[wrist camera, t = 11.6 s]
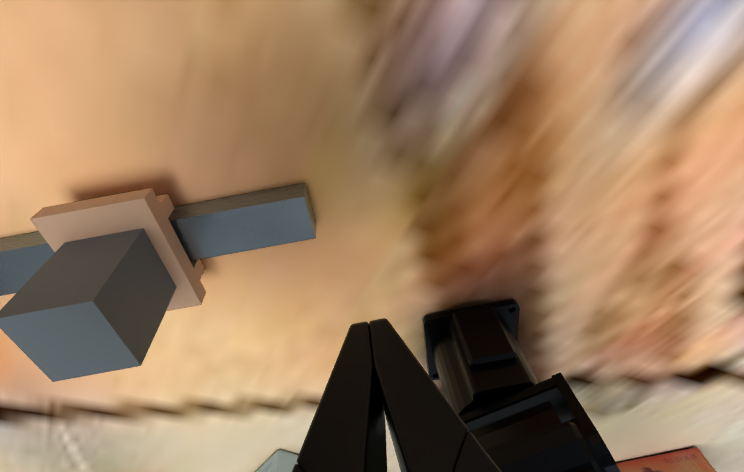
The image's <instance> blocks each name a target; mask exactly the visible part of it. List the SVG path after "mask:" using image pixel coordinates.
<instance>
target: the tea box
mask: <svg viewBox="0 0 744 472" xmlns="http://www.w3.org/2000/svg"><path fill="white" fill-rule="evenodd" d="M297 458H298V455H296V454H294V453H291V452H288V451H284V450H281V449H279V450H278V451H277V452H276V453H275V454H273V455H272V456H271V457H270V458H269V459H268V460H267V461H266V462H265V463H264V464H263V465H262V466H261V467H260V468H259V469H258V470H257V471H256V472H292V470H293V467H294V465H295V464H298V463H297Z"/></svg>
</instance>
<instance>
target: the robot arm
mask: <svg viewBox="0 0 744 472" xmlns="http://www.w3.org/2000/svg"><path fill="white" fill-rule="evenodd" d="M511 307H512V308H511ZM519 309H520V308H519V305H518V304H517V302H516V301H514V300H509V301H503V302H498V303H492V304H487V305H482V306H476V307H471V308H465V309H460V310H454V311H449V312H443V313H438V314H432V315H428V316H426V317H424V319H423V330H424V339H425V348H426V357H427V367H428V374H429V375H428V374H427V372H426V371H425V370H424V368H423V367H422V366H421V364H420V363H419V362H418V360H417V359H416V358H415V356H414V355H413V354H412V352H411V351H410V350H409V348H408V347H407V345H406V344H405V343H404V341H403V340H402V339H401V337H400V336H399V335H398V333H397V332H396V331H395V329H394V328H393V327H392V325H391V324H390V323H389V321H388V320H387V319H385V318H383V319H378V320H372V321H370V323H368V322H361V323H356V324H352V325H351V326H350V328H349V331H348V333H347V336H346V338H345V341H344V343H343V346H342V348H341V351H340V353H339V356H338V358H337V361H336V363H335V366H334V368H333V371H332V373H331V376H330V378H329V381H328V383H327V385H326V388H325V390H324V393H323V395H322V398H321V400H320V403H319V405H318V408H317V410H316V413H315V415H314V418H313V420H312V423H311V425H310V428H309V430H308V433H307V435H306V438H305V440H304V443H303V445H302V448H301V450H300V453H299V455H298V458H297V463H298V464H295V465H294V467H293V470H292V472H387V456H386V429H385V415H386V419H387V423H388V427H389V431H390V434H391V438H392V441H393V445H394V448H395V452H396V455H397V459H398V463H399V466H400V470H401V472H621V471H620V470H619V468H618V466H617V464H616V462H615V461H614V459H613V457H612V455H611V453H610V452H609V450H608V448H607V446H606V445H605V443H604V441H603V440H602V438H601V436H600V435H599V433H598V431H597V430H596V428H595V426H594V425H593V423H592V422H591V420H590V418H589V417H588V415H587V414H586V412H585V411H584V409H583V407H582V406H581V404H580V403H579V401H578V399H577V398H576V396H575V395H574V393H573V392H572V390H571V388H570V387H569V385H568V384H567V382H566V380H565V379H564V377H563V376H562V374H561V373H558V374H555V375H553V376H552V378H550V379H548V380H545V381H543V382H540V383H538V381H537V379H536V377H535V375H534V373H533V371H532V370H531V368H530V366H529V364H528V362H527V360H526V358H525V356H524V354H523V352H522V350H521V348H520V347H519V345H518V343H517V333H518V321H519ZM429 322H431V323H429ZM437 379H440V381H441V385H442V388H443V392H444V395H445V397H444V395H443V394H442V393H441V391H440V390H439V389H438V387H437V386H436V385H435V383H434V382H433V381H432V380H437ZM384 411H385V414H384Z"/></svg>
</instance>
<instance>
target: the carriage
mask: <svg viewBox="0 0 744 472" xmlns="http://www.w3.org/2000/svg"><path fill="white" fill-rule="evenodd" d="M173 210H174V206H173V204H172V202H171V200H170V198H169V196H168V194H165V195H159V196H156V194H155V192H154V190H153V189H152V188H149V189H143V190H138V191H132V192H127V193H121V194H116V195H110V196H105V197H99V198H94V199H88V200H83V201H77V202H72V203H66V204H61V205H55V206H50V207H44V208H42V209H41V210H40V211H39V212H38V213H36V214H35V215H34V216H33V217H32V218H31V219H30V220H31V221H32V223H33V224H34V225H35V227H36V228H37V229H38V231H39V232H40V233H41V235H42V236H43V237H44V239H45V240H46V241H47V243H48V244H49V245H50V247H51V248H52V249H53V251H54V252H55V253H54V254H53V255H52V256H51V257H50V258H49V259H48V260H47V262H46V263H45V264H44V265H43V266H42V267H41V268H40V269H39V270H38V271H37V272H36V273H35V274H34V275H33V276H32V277H31V278H30V280H29V281H28V282H27V283H26V284H25V285H24V286H23V287H22V288H21V289H20V290H19V291H18V292H17V293H16V294H15V295H14V296H13V298H12V299H11V300H10V301H9V302H8V303H7V304H6V305H5V306H4V307H3V308H2V309H1V310H0V328H1V329H2V330H3V331H4V333H5V334H6V335H7V336H8V337H9V338H10V339H11V340H12V341H13V342H14V343H15V344H16V345H17V346H18V347H19V348H20V349H21V350H22V351H23V352H24V353H25V354H26V355H27V356H28V357H29V358H30V359H31V360H32V361H33V362H34V363H35V364H36V365H37V366H38V367H39V368H40V369H41V370H42V371H43V372H44V373H45V374H46V375H47V376H48V377H49V378H50V379H51V381H52V382H55V381H60V380H66V379H71V378H76V377H82V376H87V375H93V374H98V373H104V372H109V371H115V370H120V369H126V368H131V367H137V366H141V364H142V362H143V360H144V358H145V356H146V354H147V351H148V349H149V347H150V345H151V343H152V340H153V338H154V336H155V334H156V332H157V329H158V327H159V325H160V323H161V321H162V319H163V316H164V314H165V312H166V311H170V310H175V309H181V308H186V307H192V306H197V305H201V304H202V302H203V299H204V296H205V293H206V291H205V289H204V287H203V285H202V283H201V281H200V279H201V276H202V274H203V271H204V266H203V264H202V262H201V260H200V259H199V260H193V261H190V260H189V258H188V256H187V254H186V252H185V250H184V248H183V246H182V245H181V243H180V241H179V239H178V237H177V235H176V233H175V231H174V229H173V227H172V225H171V223H170V221H169V219H168V218H169V216H170V214H171V213H172V211H173Z"/></svg>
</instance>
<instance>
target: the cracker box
mask: <svg viewBox="0 0 744 472" xmlns="http://www.w3.org/2000/svg"><path fill="white" fill-rule="evenodd" d="M616 464H617V466H618V468H619V470H620V471H621V472H716V471H715V469H714V468H713V467H712V466H711V465H710V463H709V462H708V461H707V459H706V458H705V457H704V456H703V454H702V453H701V452H700V450H699V449H698V448H696V447H694V448H690V449H685V450H681V451H676V452H671V453H666V454H661V455H656V456H651V457H645V458H640V459H635V460H630V461H625V462H620V463H616Z"/></svg>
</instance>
